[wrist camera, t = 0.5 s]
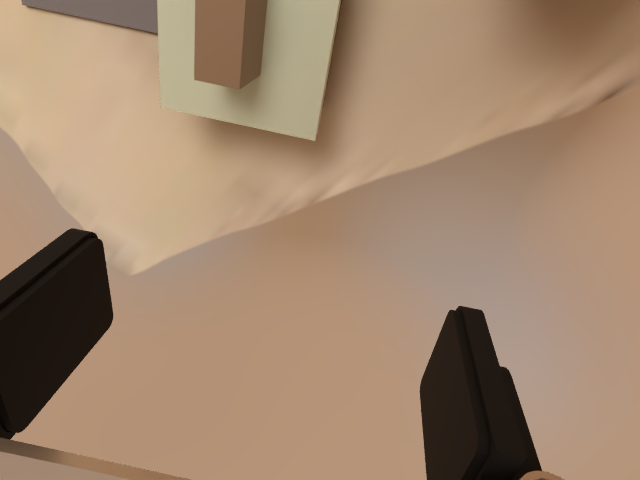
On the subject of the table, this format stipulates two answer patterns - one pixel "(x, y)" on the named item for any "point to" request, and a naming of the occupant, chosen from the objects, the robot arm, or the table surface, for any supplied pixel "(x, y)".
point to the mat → (106, 11)
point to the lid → (248, 61)
